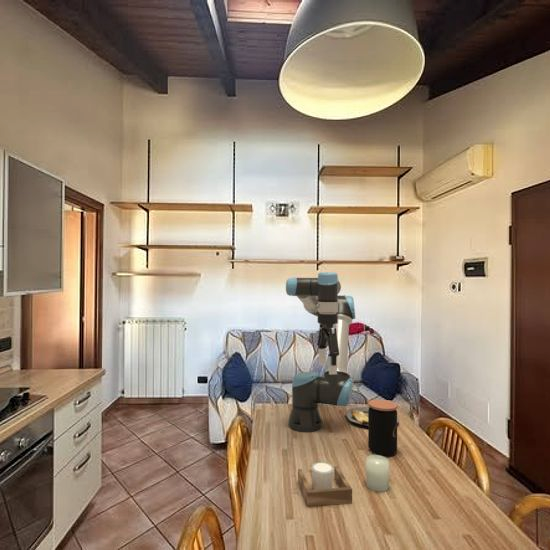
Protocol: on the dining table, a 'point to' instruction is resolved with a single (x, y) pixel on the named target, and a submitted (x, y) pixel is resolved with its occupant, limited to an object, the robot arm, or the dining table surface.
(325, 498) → the bay
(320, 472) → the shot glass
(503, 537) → the dining table surface
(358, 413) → the food plate
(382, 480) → the cream rounded cylinder
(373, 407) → the coffee jar
